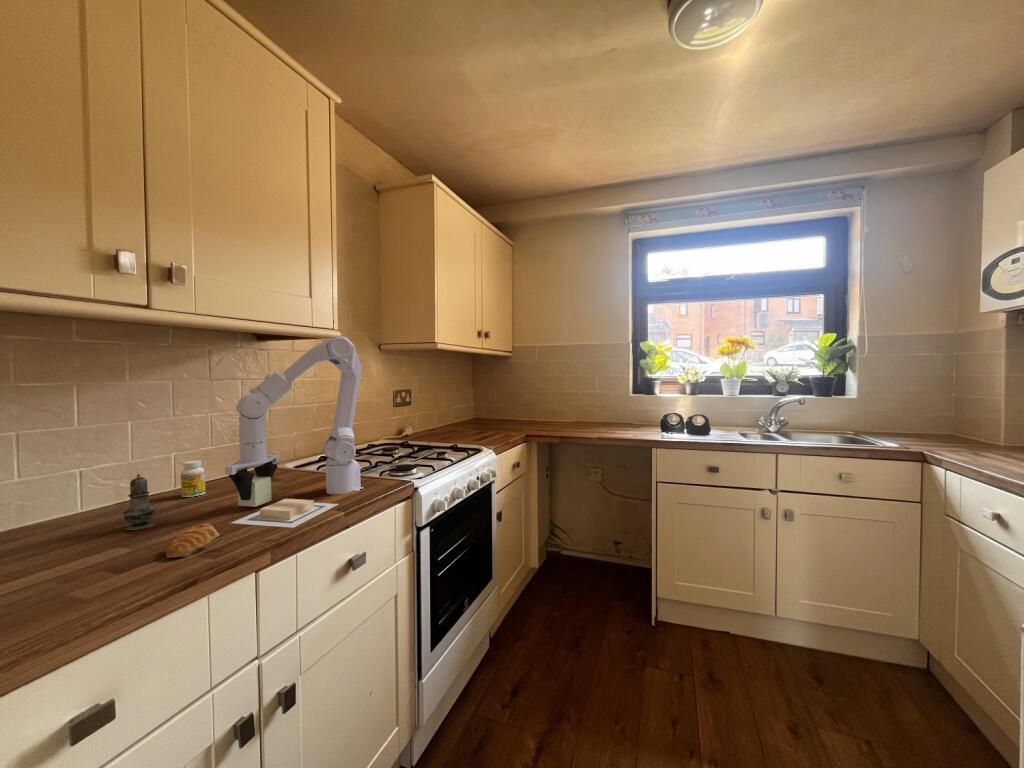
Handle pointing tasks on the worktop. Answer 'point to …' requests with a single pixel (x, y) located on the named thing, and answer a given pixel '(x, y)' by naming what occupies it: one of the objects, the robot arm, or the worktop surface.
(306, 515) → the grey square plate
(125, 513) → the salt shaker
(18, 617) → the worktop surface
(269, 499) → the sage block
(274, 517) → the maple plinth
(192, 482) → the supplement bottle
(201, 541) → the pastry
